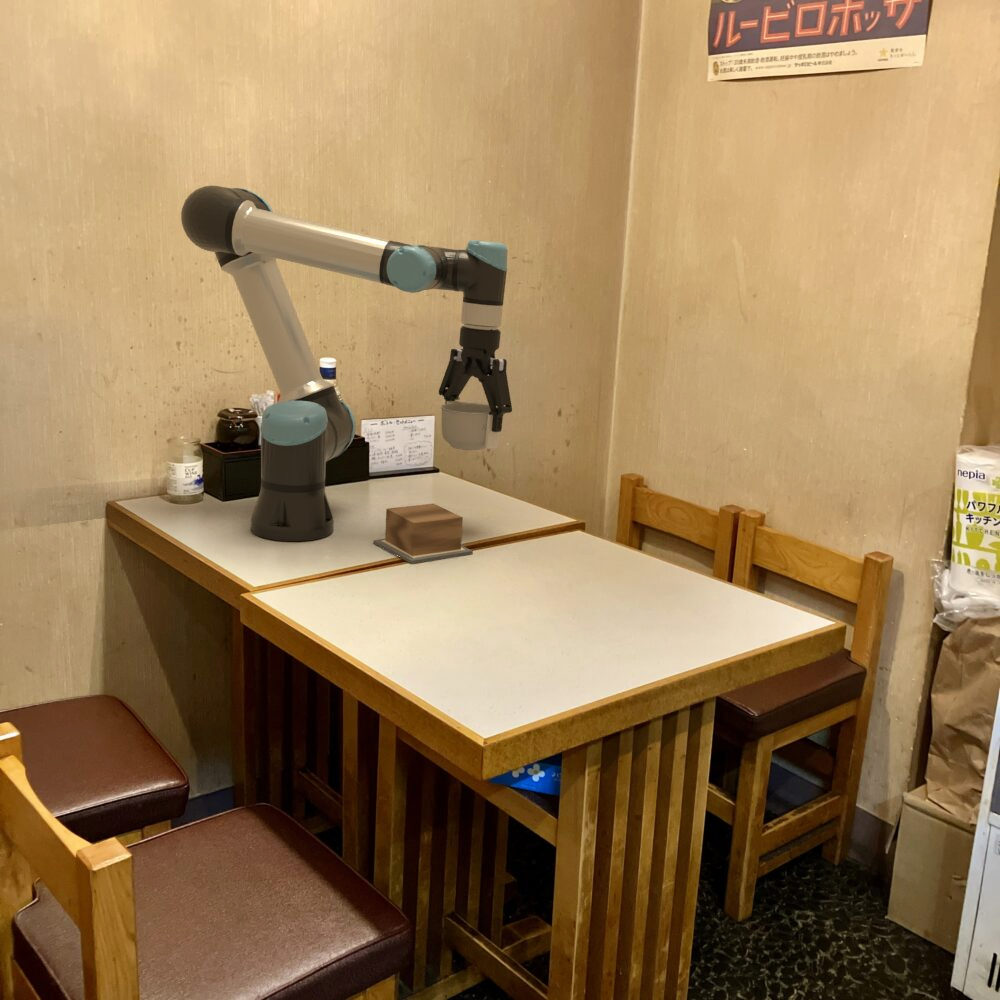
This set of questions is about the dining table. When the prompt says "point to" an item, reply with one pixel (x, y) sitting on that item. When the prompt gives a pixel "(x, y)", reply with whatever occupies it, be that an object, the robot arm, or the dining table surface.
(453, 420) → the teacup
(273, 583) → the dining table surface
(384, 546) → the mat
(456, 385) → the robot arm
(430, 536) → the brown wooden block
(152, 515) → the dining table surface
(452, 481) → the dining table surface
